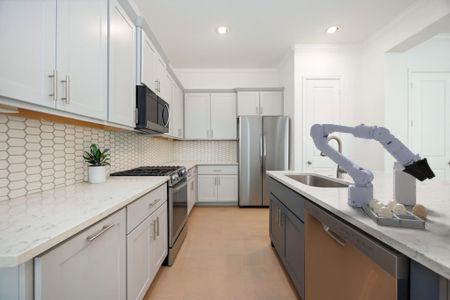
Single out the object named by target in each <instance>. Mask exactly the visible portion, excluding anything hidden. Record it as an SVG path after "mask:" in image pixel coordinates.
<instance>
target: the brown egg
mask: <svg viewBox="0 0 450 300" xmlns="http://www.w3.org/2000/svg"><path fill="white" fill-rule="evenodd" d="M411 213H412V214H414V215H415V216H417V217H419V218H420V219H422V220H427V214H428V212H427V209H426V207H425V206H424V205H422V204H419V203H416V205H415V206H413V207H412V212H411Z"/></svg>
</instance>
